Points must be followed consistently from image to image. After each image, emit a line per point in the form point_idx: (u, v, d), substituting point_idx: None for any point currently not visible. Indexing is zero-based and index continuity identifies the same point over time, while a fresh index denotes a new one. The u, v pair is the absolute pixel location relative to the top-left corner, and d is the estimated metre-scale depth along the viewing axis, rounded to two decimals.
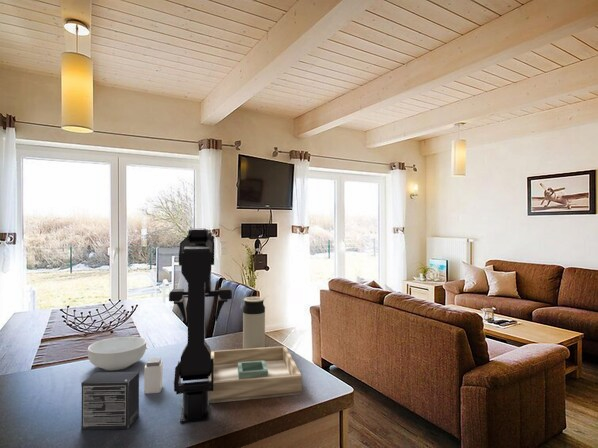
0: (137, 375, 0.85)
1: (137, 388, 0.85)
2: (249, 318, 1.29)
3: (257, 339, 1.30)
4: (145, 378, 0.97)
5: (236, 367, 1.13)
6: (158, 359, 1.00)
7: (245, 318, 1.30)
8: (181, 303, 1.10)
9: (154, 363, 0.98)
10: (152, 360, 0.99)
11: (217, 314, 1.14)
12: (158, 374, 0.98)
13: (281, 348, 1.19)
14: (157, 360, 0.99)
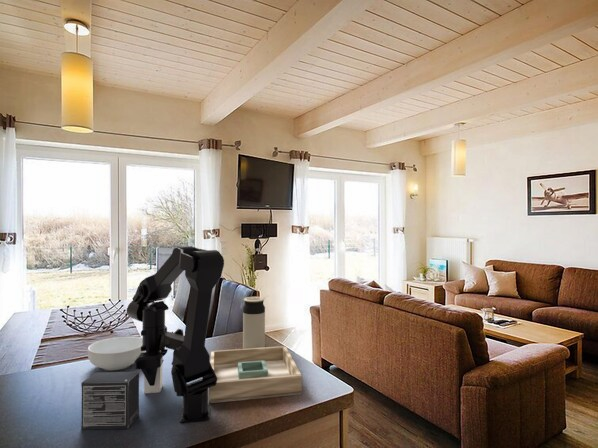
0: (137, 375, 0.85)
1: (137, 388, 0.85)
2: (249, 318, 1.29)
3: (257, 339, 1.30)
4: (145, 378, 0.97)
5: (236, 367, 1.13)
6: None
7: (245, 318, 1.30)
8: None
9: None
10: None
11: None
12: (158, 374, 0.98)
13: (281, 348, 1.19)
14: None
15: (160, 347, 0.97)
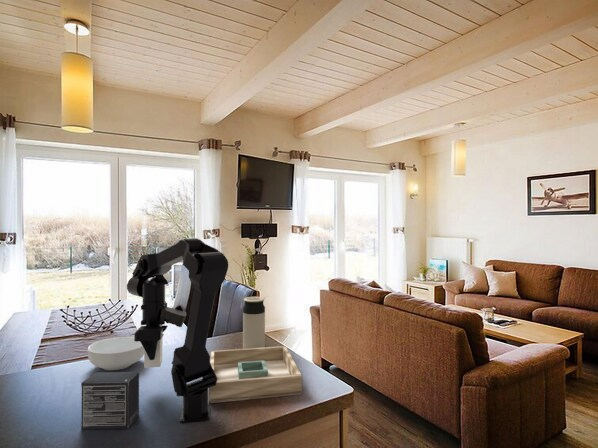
0: (137, 375, 0.85)
1: (137, 388, 0.85)
2: (249, 318, 1.29)
3: (257, 339, 1.30)
4: (145, 352, 0.97)
5: (236, 367, 1.13)
6: None
7: (245, 318, 1.30)
8: None
9: None
10: None
11: None
12: (158, 349, 0.98)
13: (281, 348, 1.19)
14: None
15: (160, 321, 0.97)
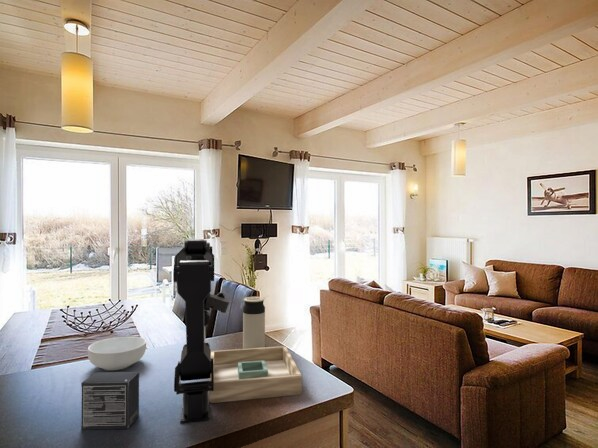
0: (137, 375, 0.85)
1: (137, 388, 0.85)
2: (249, 318, 1.29)
3: (257, 339, 1.30)
4: None
5: (236, 367, 1.13)
6: None
7: (245, 318, 1.30)
8: None
9: None
10: None
11: None
12: None
13: (281, 348, 1.19)
14: None
15: (206, 307, 1.00)
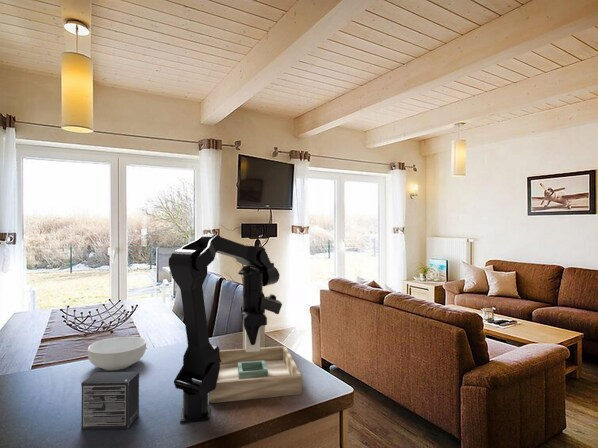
0: (137, 375, 0.85)
1: (137, 388, 0.85)
2: None
3: None
4: (246, 337, 1.04)
5: (236, 367, 1.13)
6: None
7: None
8: None
9: None
10: None
11: (248, 337, 1.03)
12: (258, 334, 1.04)
13: (281, 348, 1.19)
14: None
15: (261, 309, 1.04)
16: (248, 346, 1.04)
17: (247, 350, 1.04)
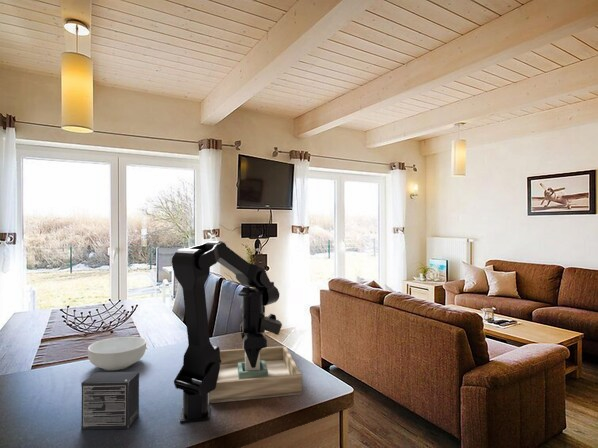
0: (137, 375, 0.85)
1: (137, 388, 0.85)
2: None
3: None
4: (246, 365, 1.04)
5: (236, 367, 1.13)
6: None
7: None
8: None
9: None
10: None
11: None
12: (258, 362, 1.04)
13: (281, 348, 1.19)
14: None
15: (261, 330, 1.04)
16: None
17: None
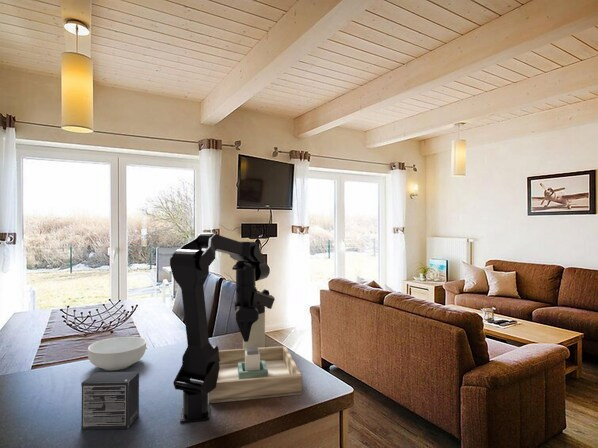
0: (137, 375, 0.85)
1: (137, 388, 0.85)
2: None
3: (257, 339, 1.30)
4: (246, 365, 1.04)
5: (236, 367, 1.13)
6: (256, 348, 1.07)
7: None
8: (235, 310, 1.12)
9: (254, 351, 1.05)
10: (251, 349, 1.06)
11: None
12: (258, 362, 1.04)
13: (281, 348, 1.19)
14: (255, 349, 1.06)
15: (253, 303, 1.05)
16: None
17: None
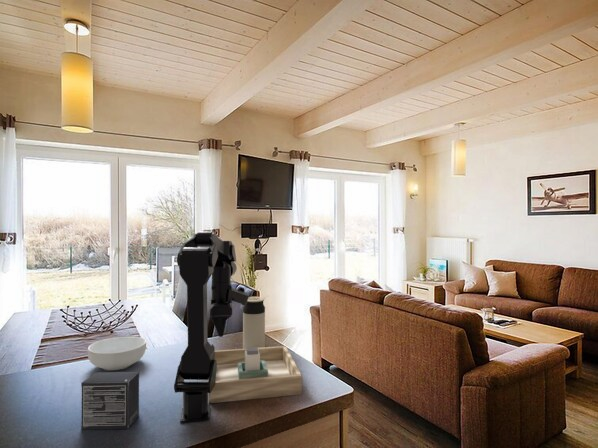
0: (137, 375, 0.85)
1: (137, 388, 0.85)
2: (249, 318, 1.29)
3: (257, 339, 1.30)
4: (246, 365, 1.04)
5: (236, 367, 1.13)
6: (256, 348, 1.07)
7: (245, 318, 1.30)
8: None
9: (254, 351, 1.05)
10: (251, 349, 1.06)
11: (216, 329, 1.07)
12: (258, 362, 1.04)
13: (281, 348, 1.19)
14: (255, 349, 1.06)
15: (228, 300, 1.10)
16: None
17: None
